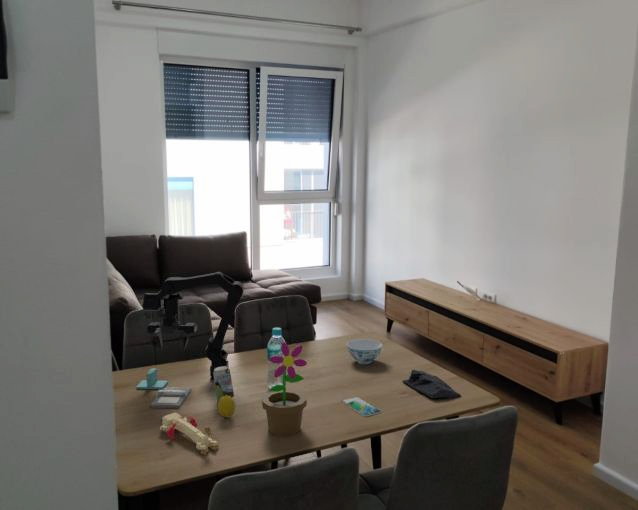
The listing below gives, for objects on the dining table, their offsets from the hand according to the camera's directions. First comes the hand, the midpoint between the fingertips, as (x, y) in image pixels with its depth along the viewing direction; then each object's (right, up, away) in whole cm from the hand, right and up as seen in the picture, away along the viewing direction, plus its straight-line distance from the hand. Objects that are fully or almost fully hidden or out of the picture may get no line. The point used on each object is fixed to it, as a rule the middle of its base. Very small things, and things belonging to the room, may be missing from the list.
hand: (172, 348), depth 225 cm
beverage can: (+23, -15, -19) cm, 34 cm away
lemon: (+27, -18, -34) cm, 47 cm away
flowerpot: (+46, -19, -41) cm, 65 cm away
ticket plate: (+4, -15, -18) cm, 24 cm away
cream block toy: (+17, -20, -48) cm, 54 cm away
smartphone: (+72, -17, -25) cm, 78 cm away
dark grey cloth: (+100, -14, -8) cm, 101 cm away
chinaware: (+77, -9, +22) cm, 80 cm away
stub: (-6, -13, -6) cm, 16 cm away
